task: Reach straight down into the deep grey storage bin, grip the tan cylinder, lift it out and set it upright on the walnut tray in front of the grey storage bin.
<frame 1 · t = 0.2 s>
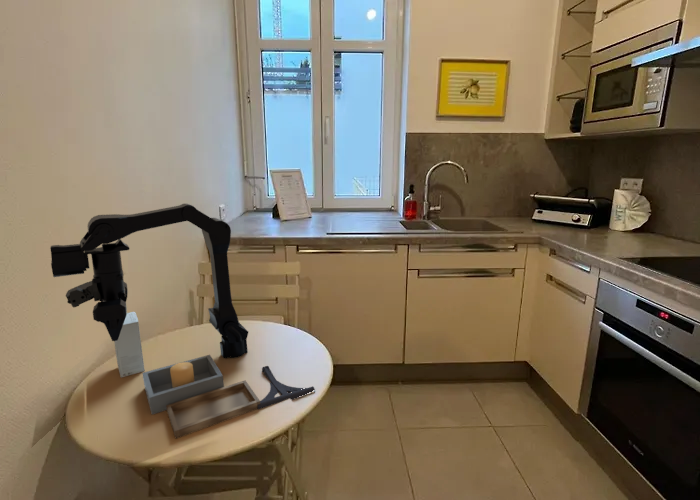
hand: (115, 332, 97), 15 cm above the table, tool pointing down, fingers open, 9 cm apart
grey storage bin: (184, 392, 98), on the table
bracket: (275, 388, 100), on the table, touching walnut tray
tan cylinder: (184, 389, 98), point 1 cm above the table, touching grey storage bin
skincare box: (130, 369, 108), on the table, touching gripper
walnut tray: (214, 412, 91), on the table
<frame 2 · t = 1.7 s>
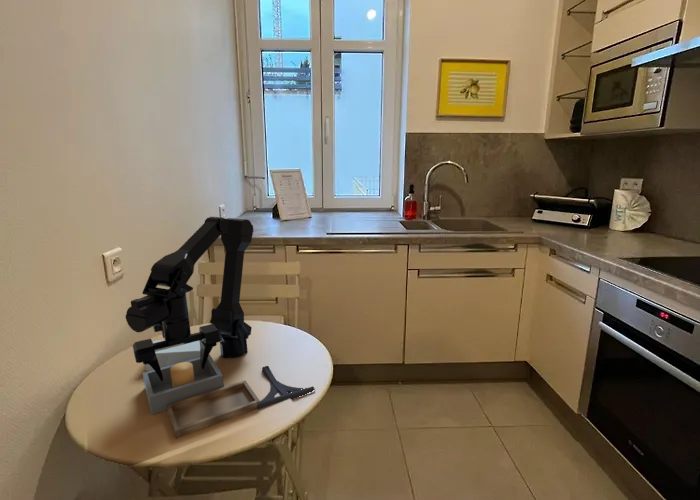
hand: (182, 374, 97), 5 cm above the table, tool pointing down, fingers open, 9 cm apart
skincare box: (149, 355, 110), point 3 cm above the table
everything else where it was.
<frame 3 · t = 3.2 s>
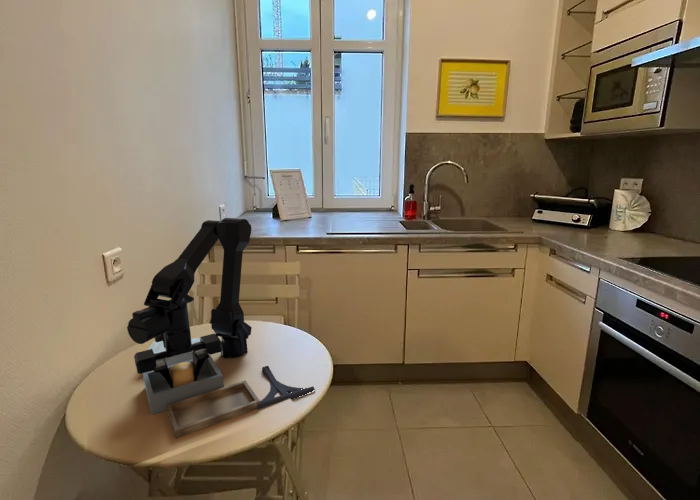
hand: (183, 384, 98), 2 cm above the table, tool pointing down, fingers closed on tan cylinder, 5 cm apart
tan cylinder: (184, 389, 98), point 1 cm above the table, touching grey storage bin, gripper
everything else where it was.
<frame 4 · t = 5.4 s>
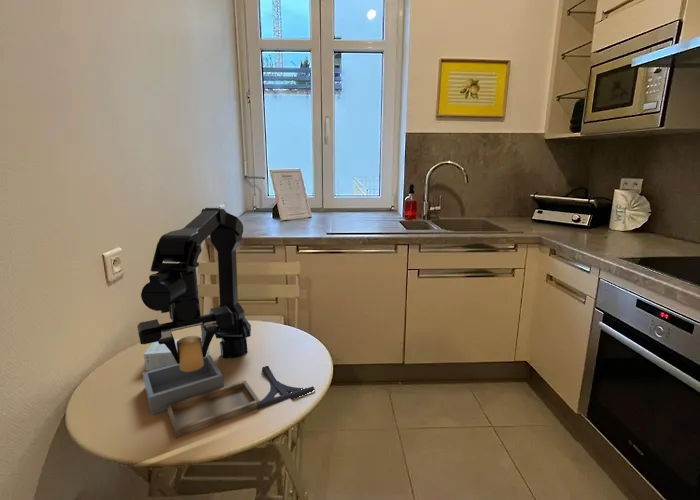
hand: (191, 359, 89), 13 cm above the table, tool pointing down, fingers closed on tan cylinder, 5 cm apart
tan cylinder: (191, 365, 89), point 11 cm above the table, touching gripper
everything else where it was.
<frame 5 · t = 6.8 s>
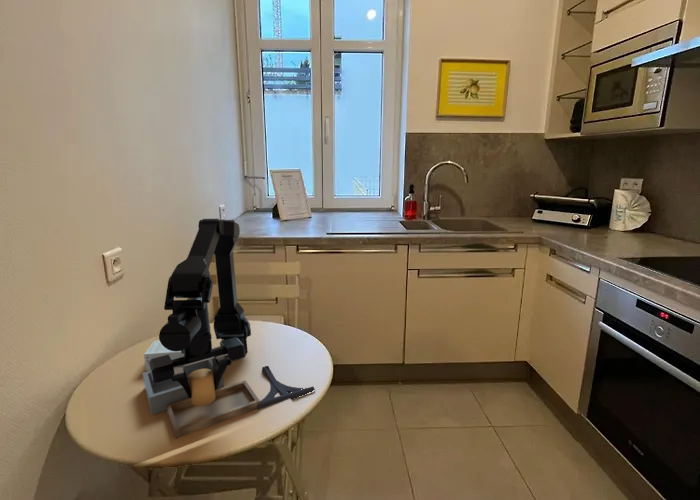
hand: (202, 393, 88), 6 cm above the table, tool pointing down, fingers closed on tan cylinder, 5 cm apart
tan cylinder: (203, 399, 88), point 4 cm above the table, touching gripper
everything else where it was.
when the fingers open (4 cm above the table, at t = 8.0 s): tan cylinder drops 1 cm, resting on walnut tray.
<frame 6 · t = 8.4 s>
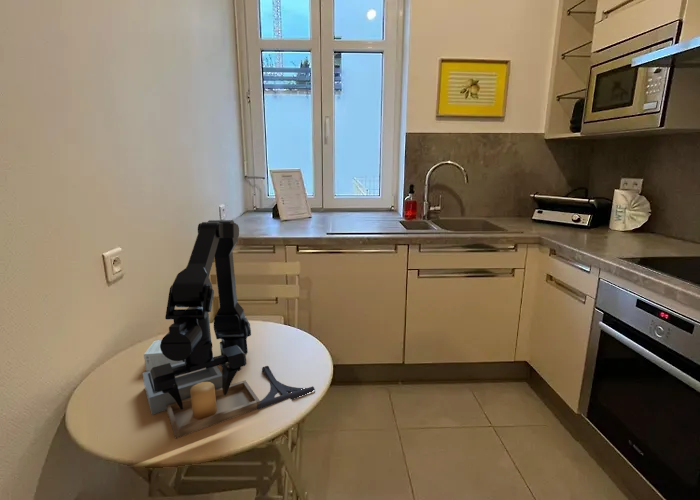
hand: (203, 401, 89), 4 cm above the table, tool pointing down, fingers open, 9 cm apart
tan cylinder: (205, 412, 89), point 1 cm above the table, touching walnut tray
everything else where it was.
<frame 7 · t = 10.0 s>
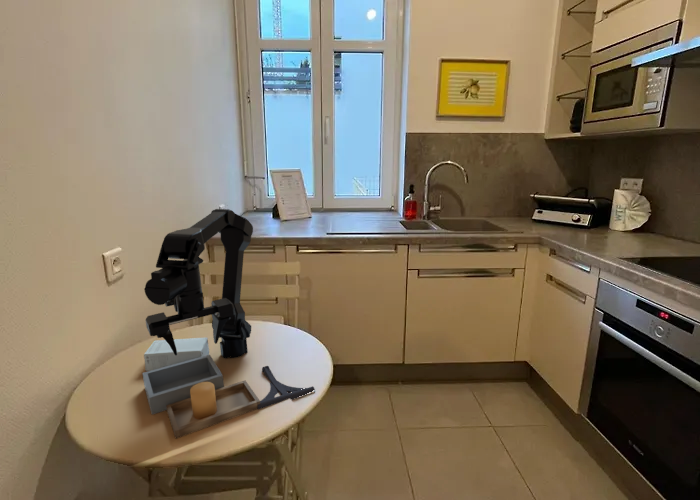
hand: (196, 348, 96), 12 cm above the table, tool pointing down, fingers open, 9 cm apart
nothing on the table moved.
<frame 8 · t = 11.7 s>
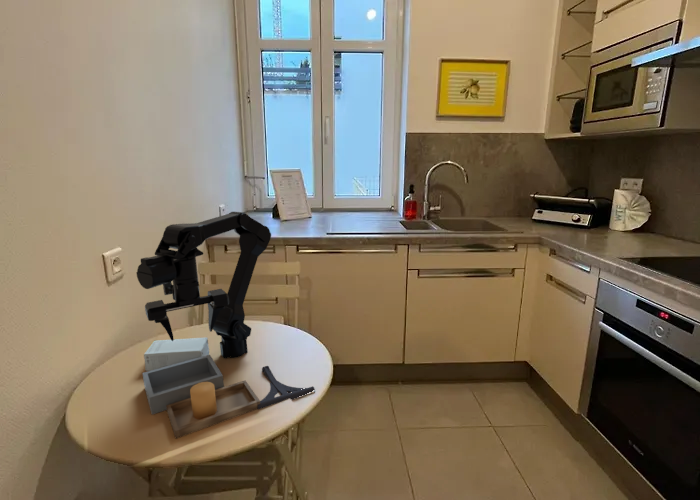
hand: (191, 335, 101), 12 cm above the table, tool pointing down, fingers open, 9 cm apart
nothing on the table moved.
at the end: tan cylinder inside the target area on the walnut tray (1.5 cm from its centre), point 1.0 cm above the walnut tray's base; tan cylinder tilted 0°; the gripper is holding nothing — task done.
